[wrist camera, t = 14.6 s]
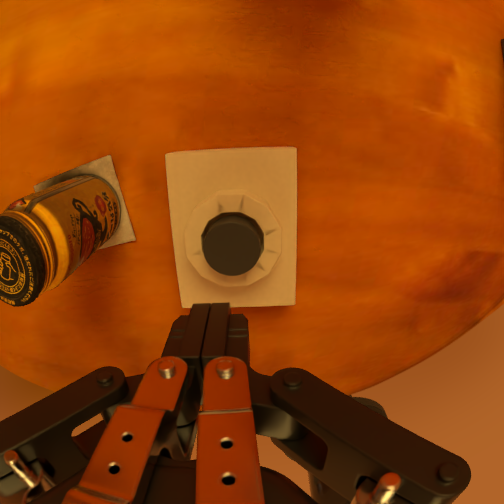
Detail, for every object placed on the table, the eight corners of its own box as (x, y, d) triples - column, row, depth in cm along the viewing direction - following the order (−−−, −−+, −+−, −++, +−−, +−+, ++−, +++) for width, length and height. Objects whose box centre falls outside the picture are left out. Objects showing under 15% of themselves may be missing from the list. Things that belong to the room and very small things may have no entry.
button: (260, 264, 22) (261, 275, 21) (208, 266, 22) (205, 277, 21) (259, 213, 21) (259, 221, 20) (204, 215, 21) (200, 223, 20)
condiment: (136, 239, 26) (68, 316, 14) (60, 259, 26) (-18, 328, 15) (111, 154, 23) (16, 179, 12) (35, 185, 24) (-61, 225, 12)
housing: (292, 292, 27) (298, 317, 24) (186, 295, 27) (177, 320, 24) (292, 146, 23) (300, 149, 19) (172, 151, 23) (157, 156, 19)
